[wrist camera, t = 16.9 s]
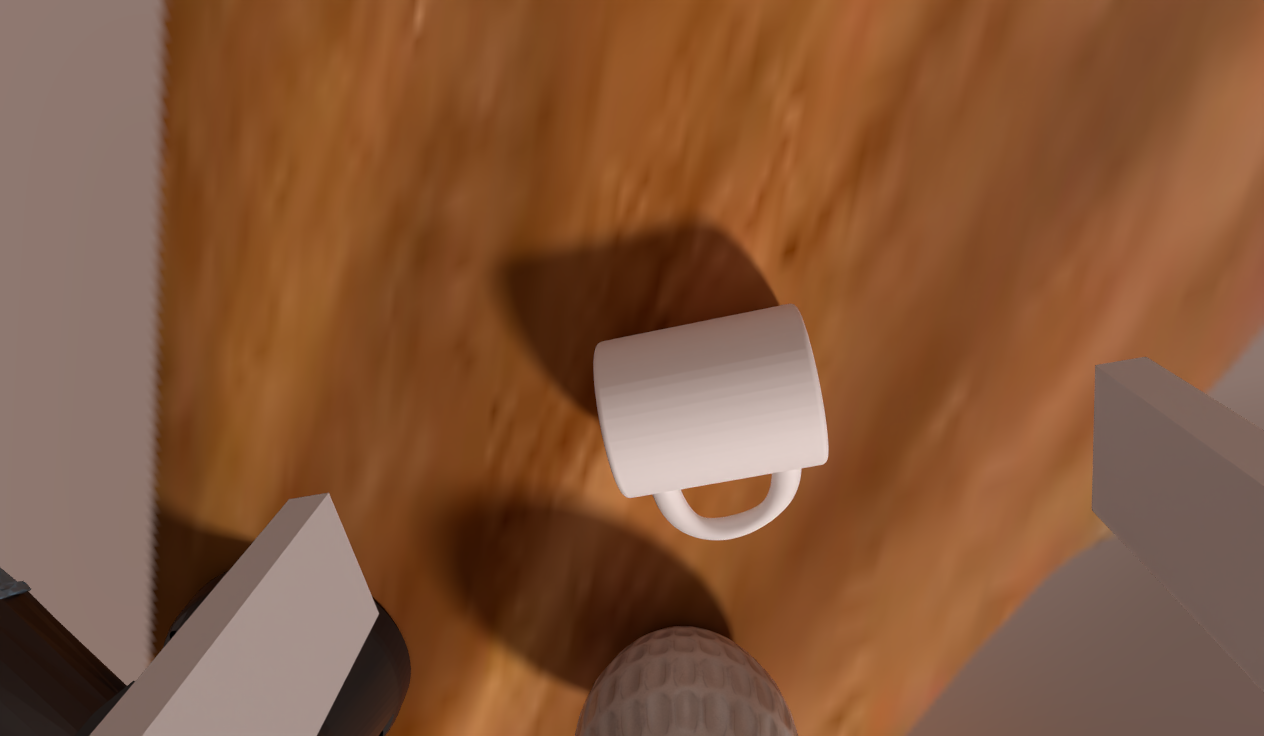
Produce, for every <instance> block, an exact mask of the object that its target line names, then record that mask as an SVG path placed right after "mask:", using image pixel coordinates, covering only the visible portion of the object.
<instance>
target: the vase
mask: <svg viewBox="0 0 1264 736" xmlns="http://www.w3.org/2000/svg"><path fill="white" fill-rule="evenodd" d="M575 736H798V734H797V730H796V727H795V724H794V720H793V717H792V714H791V711H790V709H789V707H788V705H787V703H786V701H785V699H784V698H783V696H782V694H781V692H780V690H779V688H778V687H777V685H776V683H775V682H774V680H773V679H772V678H771V677H770V675H769V674H768V673H767V672H766V670H765V669H764V668H763V667H762V666H761V665H760V664H759V663H758V662H757V661H756V660H755V659H754V658H753V657H752V656H751V655H750V654H749V653H748V652H747V651H745V650H744V649H743V648H741V647H740V646H739V645H738V644H736V643H735V642H733V641H732V640H730V639H729V638H727V637H725V636H723V635H720V634H718V633H716V632H712V631H709V630H706V629H703V628H698V627H692V626H674V627H668V628H663V629H660V630H657V631H654V632H651V633H648V634H646V635H644V636H642V637H640V638H638V639H637V640H635V641H634V642H632V643H631V644H630V645H628V646H627V647H626V648H625V649H624V650H622V651H621V652H620V653H619V654H618V655H617V656H616V657H615V658H614V659H613V660H612V661H611V662H610V663H609V664H608V666H607V667H606V668H605V669H604V670H603V672H602V673H601V674H600V676H599V677H598V678H597V680H596V681H595V683H594V684H593V686H592V689H591V691H590V693H589V695H588V697H587V699H586V701H585V703H584V706H583V708H582V710H581V713H580V717H579V721H578V725H577V729H576V733H575Z"/></svg>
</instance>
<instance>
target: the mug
mask: <svg viewBox="0 0 1264 736" xmlns="http://www.w3.org/2000/svg"><path fill="white" fill-rule="evenodd" d="M593 370H594V386H595V396H596V403H597V410H598V416H599V422H600V427H601V432H602V437H603V441H604V446H605V450H606V453H607V457H608V461H609V464H610V467H611V470H612V473H613V476H614V479H615V481H616V484H617V486H618V488H619V490H620V491H621V493H622V494H623V495H624V496H626V497H628V498H633V497H639V496H645V495H651V494H652V495H653V497H654V499H655V502H656V504H657V506H658V507H659V509H660V511H661V512H662V514H663V515H664V516H665V518H666V519H667V520H668V521H669V522H670V523H671V524H672V525H673V526H675V527H676V528H677V529H679V530H680V531H682V532H684V533H686V534H688V535H691V536H693V537H697V538H701V539H707V540H727V539H733V538H737V537H740V536H744V535H746V534H749V533H751V532H753V531H755V530H757V529H759V528H761V527H763V526H764V525H766V524H767V523H769V522H770V521H772V520H773V519H774V518H776V517H777V516H778V515H779V514H780V513H781V512H782V511H783V510H784V509H785V508H786V507H787V506H788V505H789V503H790V502H791V500H792V499H793V497H794V495H795V493H796V491H797V489H798V486H799V482H800V477H801V468H805V467H811V466H817V465H822V464H824V463H825V462H826V461H827V459H828V434H827V425H826V418H825V411H824V405H823V399H822V394H821V388H820V383H819V378H818V374H817V369H816V365H815V360H814V356H813V352H812V348H811V344H810V341H809V337H808V334H807V330H806V327H805V324H804V321H803V319H802V316H801V314H800V312H799V310H798V308H797V307H796V306H795V305H794V304H785V305H780V306H775V307H770V308H765V309H760V310H755V311H750V312H746V313H741V314H736V315H731V316H726V317H721V318H716V319H711V320H706V321H701V322H696V323H691V324H686V325H681V326H676V327H671V328H666V329H661V330H656V331H651V332H646V333H641V334H636V335H631V336H626V337H621V338H616V339H611V340H606V341H602V342H600V343H598V344H597V346H596V348H595V352H594V362H593ZM771 473H772V480H771V486H770V489H769V492H768V495H767V497H766V498H765V500H764V501H763V502H762V503H761V504H759V505H758V506H756V507H755V508H753V509H750V510H748V511H745V512H742V513H739V514H735V515H731V516H727V517H721V518H705V517H702V516H699V515H698V514H696V513H695V512H694V511H693V510H692V509H691V507H690V506H689V505H688V503H687V501H686V500H685V498H684V496H683V494H682V491H681V489H685V488H691V487H696V486H702V485H708V484H714V483H719V482H725V481H731V480H737V479H742V478H748V477H754V476H760V475H765V474H771Z"/></svg>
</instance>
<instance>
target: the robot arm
mask: <svg viewBox="0 0 1264 736" xmlns="http://www.w3.org/2000/svg"><path fill="white" fill-rule="evenodd" d="M1092 511H1093V512H1094V513H1095V514H1096V515H1097V516H1098V517H1099V518H1100V519H1101V520H1102V521H1103V522H1104V523H1105V525H1106V526H1107V527H1108V528H1109V529H1110V530H1111V531H1112V532H1113V533H1114V534H1115V535H1116V536H1117V537H1118V538H1119V539H1120V540H1121V541H1122V543H1123V544H1125V546H1126V547H1127V548H1128V549H1129V550H1130V551H1131V552H1132V553H1133V554H1134V555H1135V556H1136V557H1137V558H1138V559H1139V561H1140V562H1141V563H1142V564H1143V565H1144V566H1145V567H1146V568H1147V569H1148V570H1149V571H1150V572H1151V573H1152V574H1153V575H1154V576H1155V578H1156V579H1157V580H1158V581H1159V582H1160V583H1161V584H1162V585H1163V586H1164V587H1165V588H1166V589H1167V590H1168V591H1169V592H1170V593H1171V594H1172V596H1173V597H1174V598H1175V599H1176V600H1177V601H1178V602H1179V603H1180V604H1181V605H1182V606H1183V607H1184V608H1185V609H1186V611H1187V612H1188V613H1189V614H1190V615H1191V616H1192V617H1193V618H1194V619H1195V620H1196V621H1197V622H1198V623H1199V624H1200V625H1201V626H1202V627H1203V629H1204V630H1205V631H1206V632H1207V633H1208V634H1209V635H1210V636H1211V637H1212V638H1213V639H1214V640H1215V641H1216V642H1217V643H1218V644H1219V645H1220V646H1221V647H1222V649H1223V650H1224V651H1225V652H1226V653H1227V654H1228V655H1229V656H1230V657H1231V658H1232V659H1233V660H1234V661H1235V663H1237V665H1238V666H1239V667H1240V668H1241V669H1242V670H1243V671H1244V672H1245V673H1246V674H1247V675H1248V676H1249V677H1250V678H1251V679H1252V681H1253V682H1254V683H1255V684H1256V685H1257V686H1258V687H1259V688H1260V689H1261V690H1262V691H1263V692H1264V430H1263V429H1261V428H1259V427H1257V426H1256V425H1255V424H1253V423H1251V422H1250V421H1248V420H1247V419H1245V418H1243V417H1242V416H1240V415H1238V414H1237V413H1235V412H1234V411H1232V410H1230V409H1229V408H1227V407H1225V406H1224V405H1222V404H1221V403H1219V402H1218V401H1216V400H1214V399H1213V398H1211V397H1210V396H1208V395H1206V394H1205V393H1203V392H1202V391H1200V390H1198V389H1197V388H1195V387H1194V386H1192V385H1190V384H1189V383H1187V382H1186V381H1184V380H1182V379H1181V378H1179V377H1178V376H1176V375H1174V374H1173V373H1171V372H1170V371H1168V370H1166V369H1165V368H1163V367H1162V366H1160V365H1158V364H1157V363H1155V362H1154V361H1152V360H1150V359H1149V358H1147V357H1142V358H1136V359H1130V360H1124V361H1118V362H1112V363H1106V364H1100V365H1095V401H1094V442H1093V483H1092ZM30 590H31V588H30V587H29V586H28V585H27V584H26V583H25V582H23V581H20V582H17V581H16V580H15V579H13V578H12V577H11V576H10V575H9V574H7V573H6V572H5V571H4V570H2V569H1V568H0V736H385V735H386V734H387V733H388V731H389V730H390V728H391V727H392V725H393V723H394V722H395V720H396V717H397V715H398V713H399V710H400V708H401V705H402V703H403V701H404V698H405V696H406V693H407V690H408V687H409V683H410V675H411V667H410V658H409V654H408V650H407V647H406V644H405V641H404V639H403V637H402V635H401V633H400V631H399V629H398V628H397V626H396V625H395V623H394V622H393V621H392V619H391V618H390V617H389V615H388V614H387V613H386V612H385V611H384V610H383V609H382V608H381V607H380V606H379V605H378V604H377V603H376V602H375V601H374V600H373V598H372V595H371V593H370V591H369V588H368V586H367V583H366V581H365V579H364V576H363V574H362V571H361V569H360V567H359V564H358V562H357V559H356V557H355V555H354V552H353V550H352V547H351V545H350V543H349V540H348V538H347V535H346V533H345V531H344V528H343V526H342V523H341V521H340V519H339V516H338V514H337V512H336V509H335V507H334V504H333V502H332V500H331V497H330V495H329V493H325V494H319V495H313V496H307V497H301V498H295V499H289V500H288V501H287V503H286V504H285V505H284V506H283V507H282V509H281V510H280V511H279V512H278V513H277V514H276V516H275V517H274V518H273V519H272V520H271V522H270V523H269V524H268V525H267V526H266V527H265V529H264V530H263V531H262V532H261V533H260V535H259V536H258V537H257V538H256V539H255V540H254V542H253V543H252V544H251V545H250V546H249V548H248V549H247V550H246V551H245V552H244V553H243V555H242V556H241V557H240V558H239V559H238V561H237V562H236V563H235V564H234V565H233V566H232V568H231V569H230V570H229V571H228V572H226V573H223V574H221V575H220V576H218V577H216V578H214V579H213V580H211V581H210V582H209V583H207V584H206V585H205V586H204V587H203V588H202V589H201V590H200V591H199V592H198V593H197V594H196V595H195V596H194V598H193V599H192V600H191V601H190V602H189V603H188V605H187V606H186V607H185V608H184V609H183V610H182V612H181V613H180V614H179V615H178V617H177V618H176V620H175V621H174V623H173V624H172V626H171V628H170V630H169V632H168V635H167V637H166V640H165V643H164V647H163V649H162V650H161V652H160V653H159V654H158V655H157V656H156V657H155V659H154V660H153V661H152V662H151V663H150V665H149V666H148V667H147V668H146V669H145V671H144V672H143V673H142V674H141V675H140V677H139V678H138V679H137V680H136V681H133V682H131V683H130V684H129V685H128V686H126V685H125V684H124V683H123V682H122V681H121V680H120V679H119V678H118V677H117V676H116V675H115V674H114V673H113V672H112V671H110V670H109V669H108V668H107V667H106V666H105V665H104V664H103V663H102V662H101V661H100V660H99V659H98V658H97V657H96V656H95V655H93V654H92V653H91V652H90V651H89V650H88V649H87V648H86V647H85V646H84V645H83V644H82V643H81V642H79V640H78V639H77V638H75V637H74V636H73V635H72V634H71V633H70V632H69V631H68V630H67V629H66V628H65V627H64V626H63V625H61V623H60V622H59V621H57V620H56V619H55V618H54V617H53V616H52V615H51V614H50V613H49V612H48V611H47V610H46V609H45V608H44V607H43V606H42V605H41V604H40V603H39V602H38V601H37V600H36V599H35V598H34V597H33V596H32V595H31V594H30V593H29V592H28V591H30Z"/></svg>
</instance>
